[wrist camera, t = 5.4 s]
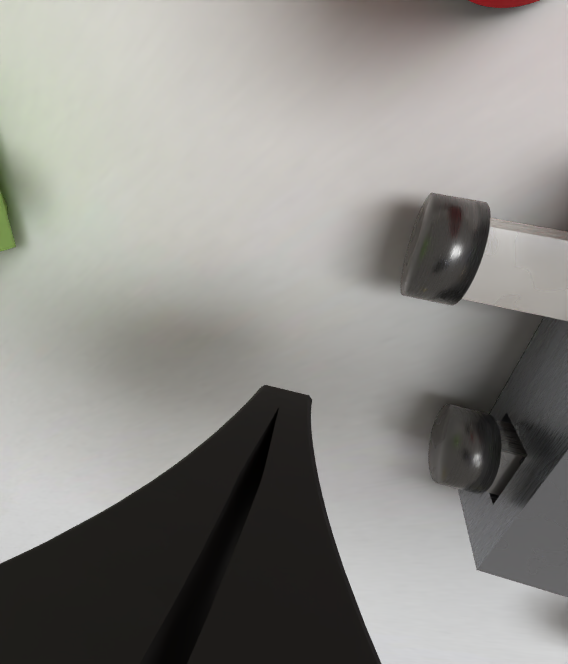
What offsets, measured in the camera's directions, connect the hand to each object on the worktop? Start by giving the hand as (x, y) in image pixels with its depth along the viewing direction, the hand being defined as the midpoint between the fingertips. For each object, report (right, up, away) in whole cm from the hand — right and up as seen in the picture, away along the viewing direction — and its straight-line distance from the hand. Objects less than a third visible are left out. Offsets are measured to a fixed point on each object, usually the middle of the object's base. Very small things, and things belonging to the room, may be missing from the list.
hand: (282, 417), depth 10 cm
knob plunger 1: (+11, +5, +5) cm, 13 cm away
